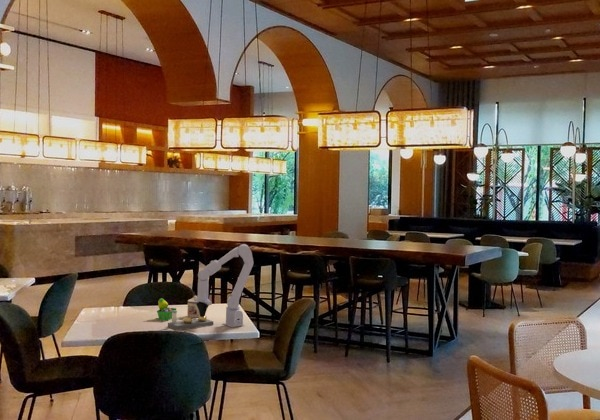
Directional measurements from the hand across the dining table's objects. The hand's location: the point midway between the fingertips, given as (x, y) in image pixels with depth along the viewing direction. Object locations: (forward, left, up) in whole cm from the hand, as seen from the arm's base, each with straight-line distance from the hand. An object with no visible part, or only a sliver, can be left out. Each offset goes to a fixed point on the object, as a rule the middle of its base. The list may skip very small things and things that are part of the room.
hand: (202, 316), depth 359 cm
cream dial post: (+3, +15, -2) cm, 16 cm away
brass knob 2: (0, 0, -4) cm, 4 cm away
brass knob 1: (0, +9, -4) cm, 10 cm away
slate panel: (+1, +6, -4) cm, 8 cm away
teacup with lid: (+21, -10, -5) cm, 24 cm away
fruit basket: (+25, +8, -5) cm, 27 cm away
